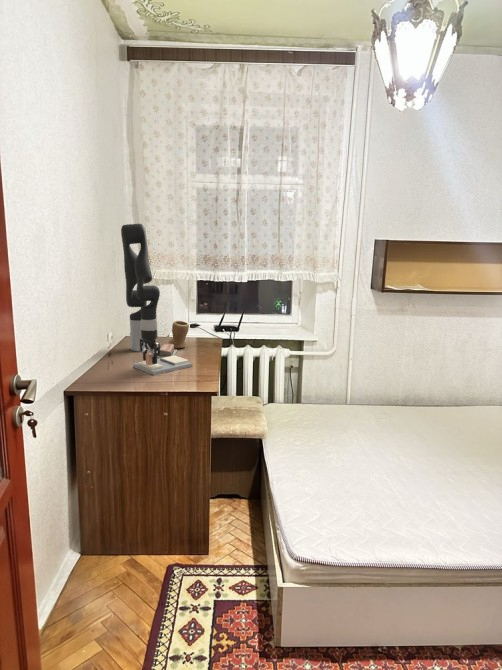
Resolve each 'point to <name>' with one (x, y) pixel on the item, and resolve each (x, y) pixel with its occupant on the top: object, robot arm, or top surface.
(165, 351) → the packaged product
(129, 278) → the robot arm
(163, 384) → the top surface
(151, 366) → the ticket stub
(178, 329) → the brown hollow piece
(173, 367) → the board
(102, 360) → the top surface
